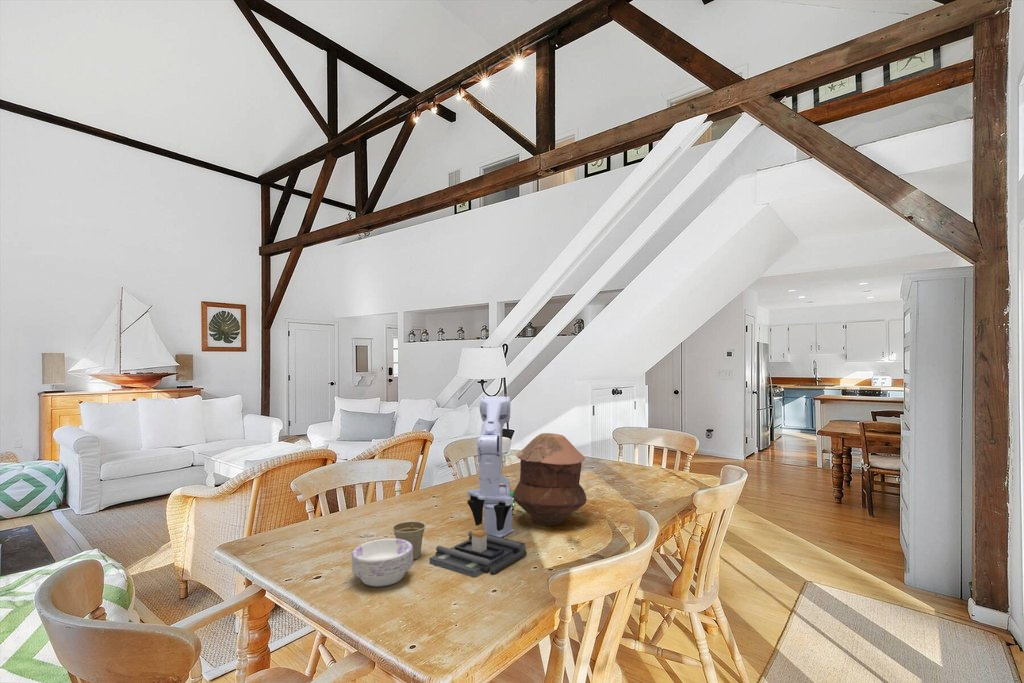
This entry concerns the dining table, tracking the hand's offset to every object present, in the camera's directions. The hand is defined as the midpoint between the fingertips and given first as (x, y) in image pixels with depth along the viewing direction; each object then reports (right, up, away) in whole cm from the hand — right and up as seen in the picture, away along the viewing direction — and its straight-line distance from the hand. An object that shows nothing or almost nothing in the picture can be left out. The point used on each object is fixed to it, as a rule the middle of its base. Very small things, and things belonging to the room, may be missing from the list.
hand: (489, 527), depth 141 cm
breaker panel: (-3, -10, +4) cm, 11 cm away
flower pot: (-23, -10, +3) cm, 25 cm away
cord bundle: (-3, -10, +3) cm, 10 cm away
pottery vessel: (+19, -11, +35) cm, 41 cm away
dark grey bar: (+1, -10, +10) cm, 14 cm away
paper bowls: (-27, -10, -11) cm, 31 cm away
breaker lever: (-3, -8, +4) cm, 9 cm away
